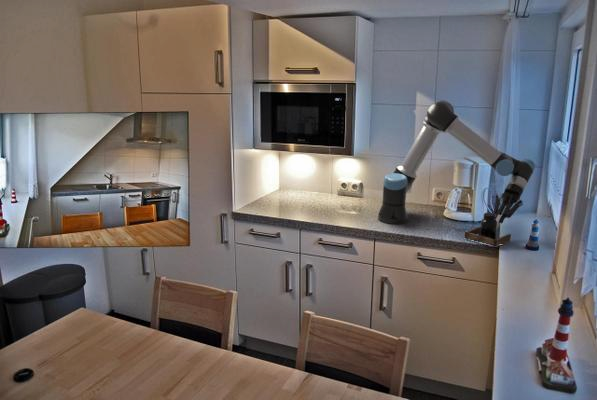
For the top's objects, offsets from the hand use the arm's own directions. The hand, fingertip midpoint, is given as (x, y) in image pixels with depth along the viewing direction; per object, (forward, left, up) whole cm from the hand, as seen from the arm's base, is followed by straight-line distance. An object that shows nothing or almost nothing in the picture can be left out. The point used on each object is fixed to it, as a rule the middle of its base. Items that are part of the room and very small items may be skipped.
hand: (494, 227), depth 218 cm
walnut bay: (0, -5, -5) cm, 7 cm away
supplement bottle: (-1, -3, -5) cm, 6 cm away
